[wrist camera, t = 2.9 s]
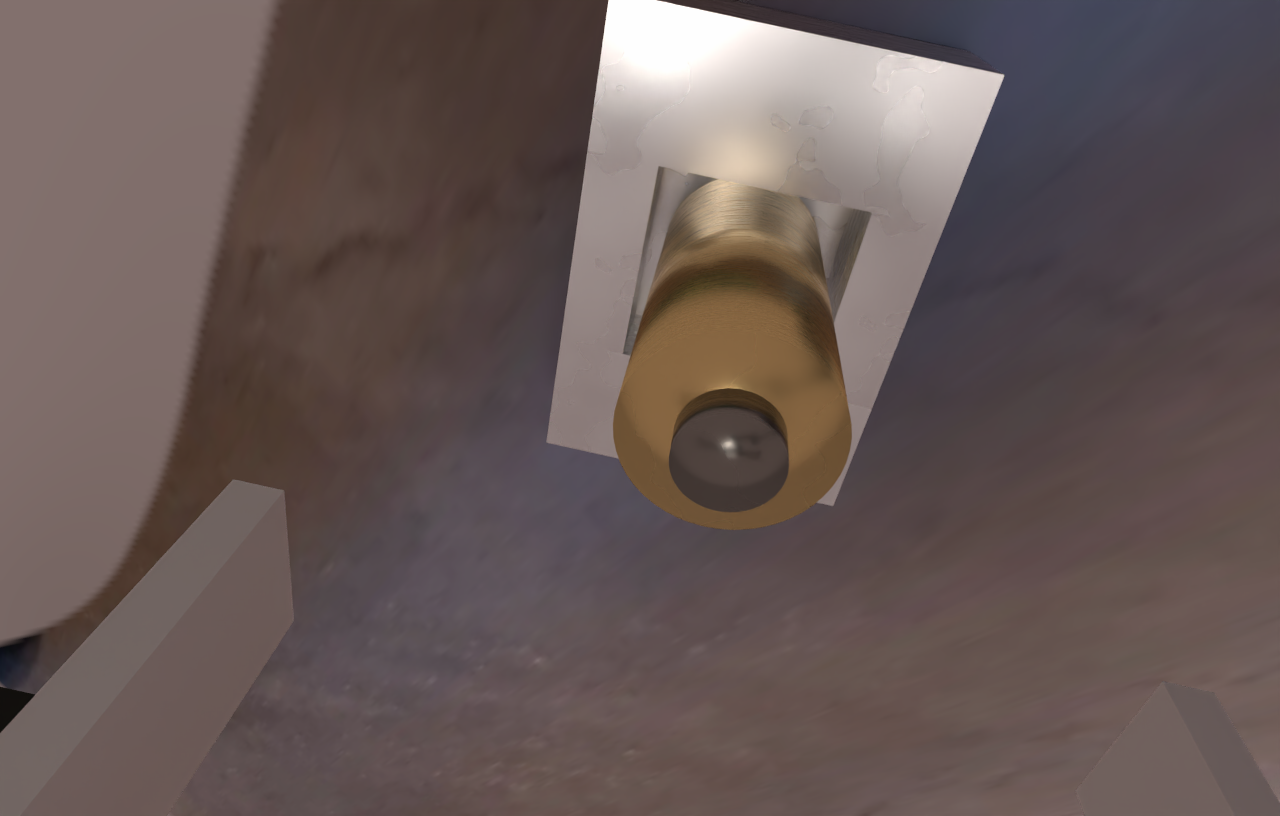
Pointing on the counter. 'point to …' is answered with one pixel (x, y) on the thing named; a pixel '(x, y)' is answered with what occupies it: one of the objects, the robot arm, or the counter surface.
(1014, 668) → the counter surface
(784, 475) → the brass capped cylinder
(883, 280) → the housing
